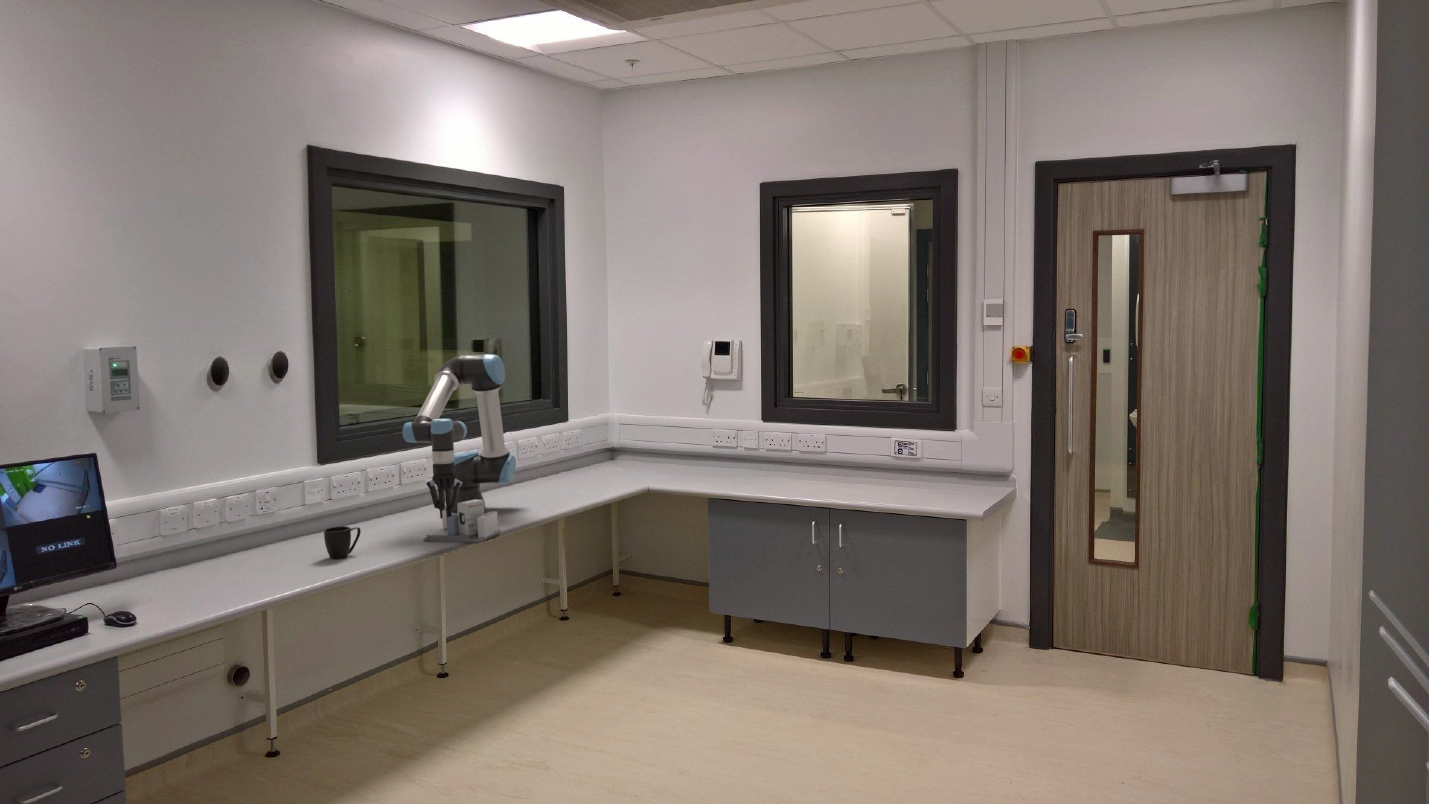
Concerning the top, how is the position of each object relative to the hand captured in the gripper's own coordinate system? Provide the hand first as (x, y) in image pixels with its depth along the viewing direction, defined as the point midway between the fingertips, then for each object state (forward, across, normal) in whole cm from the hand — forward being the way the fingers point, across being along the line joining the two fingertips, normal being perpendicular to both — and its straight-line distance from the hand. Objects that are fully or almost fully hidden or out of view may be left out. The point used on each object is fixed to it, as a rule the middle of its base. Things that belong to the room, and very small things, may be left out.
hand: (446, 527), depth 359 cm
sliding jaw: (+2, +4, 0) cm, 5 cm away
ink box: (+2, +10, 0) cm, 10 cm away
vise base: (+3, +6, 0) cm, 7 cm away
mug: (+4, -22, -31) cm, 38 cm away
